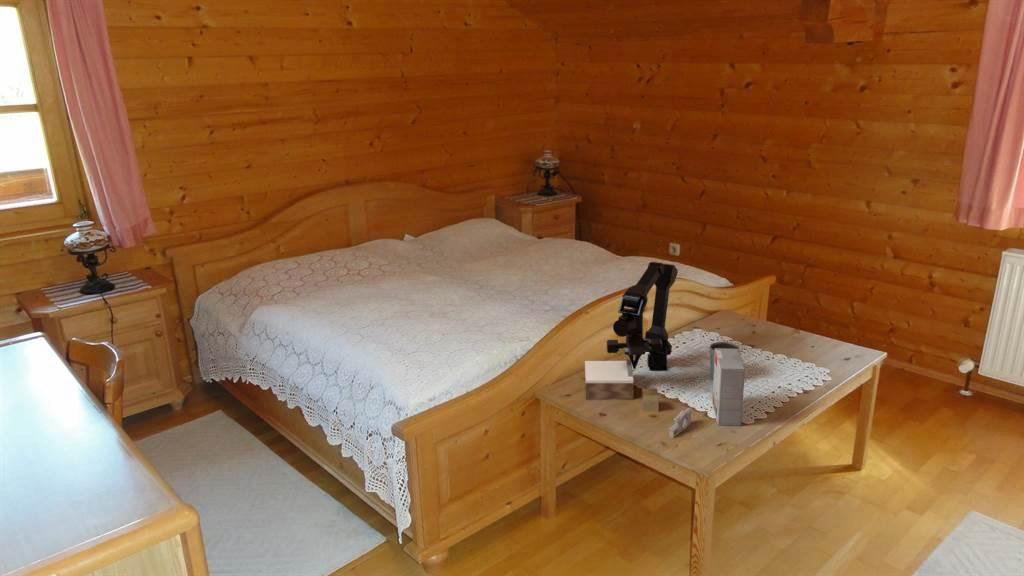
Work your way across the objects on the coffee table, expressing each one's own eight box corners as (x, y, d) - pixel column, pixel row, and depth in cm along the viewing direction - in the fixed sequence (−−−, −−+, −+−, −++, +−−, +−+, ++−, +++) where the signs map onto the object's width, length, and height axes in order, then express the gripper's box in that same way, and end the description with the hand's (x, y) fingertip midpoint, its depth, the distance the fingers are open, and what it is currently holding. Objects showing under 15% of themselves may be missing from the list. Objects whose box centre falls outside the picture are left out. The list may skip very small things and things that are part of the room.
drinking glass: (711, 384, 250) (713, 353, 246) (705, 372, 260) (706, 341, 256) (740, 383, 250) (743, 352, 246) (733, 371, 259) (735, 341, 256)
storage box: (629, 378, 257) (630, 363, 255) (633, 399, 242) (633, 383, 240) (585, 378, 258) (585, 363, 257) (585, 399, 243) (585, 383, 241)
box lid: (629, 363, 255) (630, 355, 254) (633, 383, 240) (633, 375, 239) (585, 363, 256) (585, 355, 256) (585, 383, 241) (585, 375, 240)
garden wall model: (673, 438, 217) (673, 421, 215) (668, 437, 218) (668, 419, 216) (692, 423, 225) (692, 406, 224) (687, 421, 227) (687, 404, 225)
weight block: (656, 404, 238) (657, 388, 236) (658, 411, 233) (658, 395, 231) (641, 404, 238) (641, 388, 236) (642, 411, 234) (643, 395, 232)
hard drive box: (711, 402, 238) (714, 347, 231) (735, 403, 236) (739, 348, 230) (716, 425, 223) (720, 367, 217) (742, 426, 222) (746, 368, 216)
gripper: (607, 336, 235) (608, 379, 240) (665, 335, 233) (664, 378, 238) (606, 324, 246) (606, 365, 251) (661, 322, 244) (660, 364, 249)
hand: (634, 368), depth 247 cm, fingers closed
